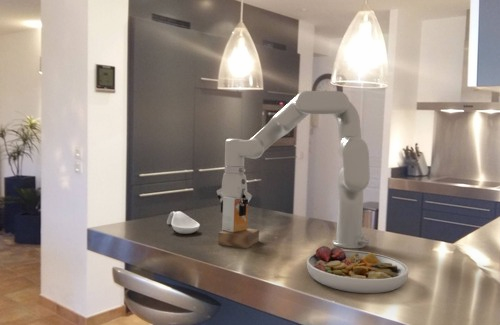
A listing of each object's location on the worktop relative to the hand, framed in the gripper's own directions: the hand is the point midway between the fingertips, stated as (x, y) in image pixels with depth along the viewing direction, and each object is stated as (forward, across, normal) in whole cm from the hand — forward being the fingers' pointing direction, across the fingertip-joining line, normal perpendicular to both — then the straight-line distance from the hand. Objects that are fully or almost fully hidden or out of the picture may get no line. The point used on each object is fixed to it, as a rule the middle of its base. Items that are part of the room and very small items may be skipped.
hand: (233, 213), depth 183 cm
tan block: (+11, -4, 0) cm, 12 cm away
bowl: (+11, -57, +8) cm, 59 cm away
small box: (+6, -1, 0) cm, 6 cm away
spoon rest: (+11, +29, +1) cm, 31 cm away
